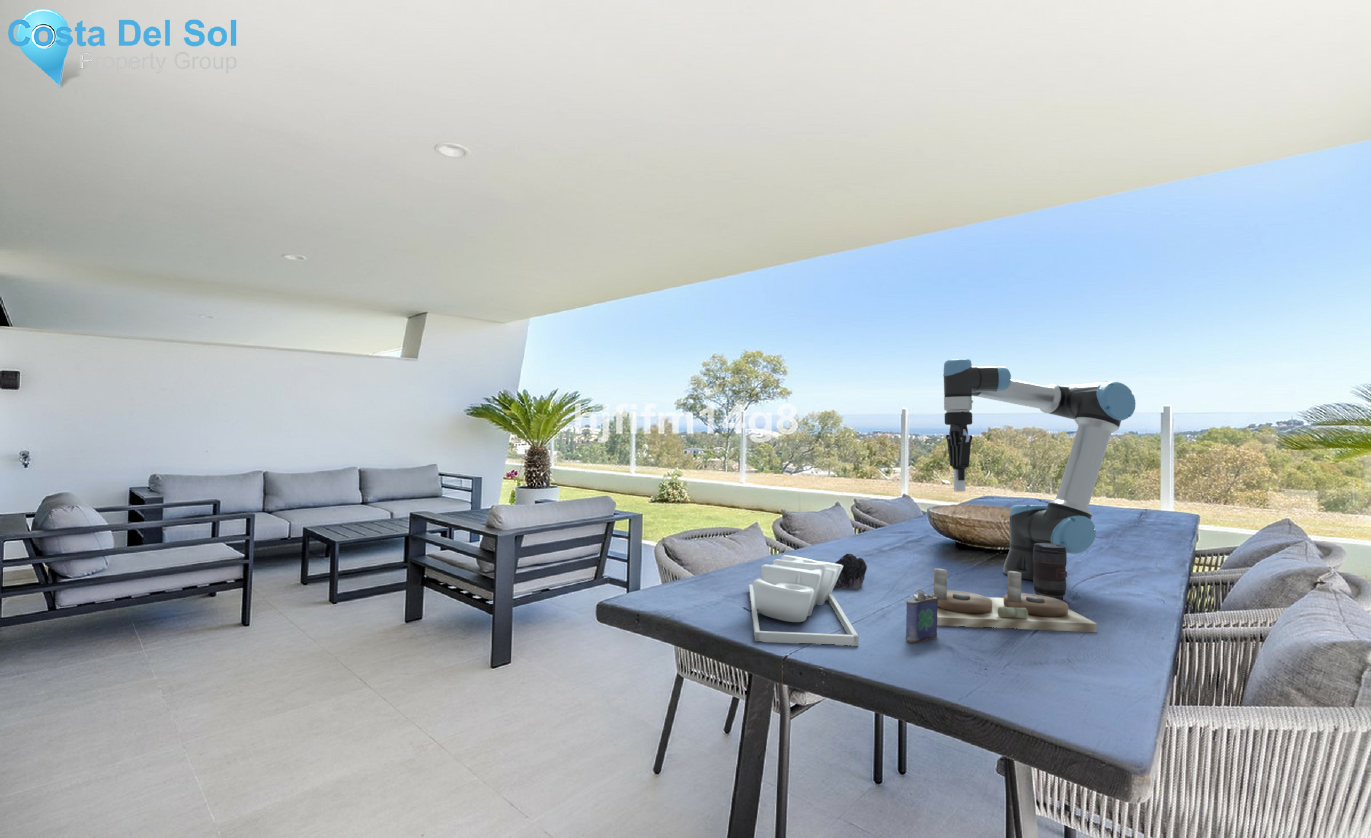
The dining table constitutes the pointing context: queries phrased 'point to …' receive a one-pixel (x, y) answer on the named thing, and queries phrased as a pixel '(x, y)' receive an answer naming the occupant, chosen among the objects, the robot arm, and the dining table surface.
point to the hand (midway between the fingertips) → (959, 491)
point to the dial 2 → (1032, 599)
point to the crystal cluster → (851, 572)
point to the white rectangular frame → (806, 637)
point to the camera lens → (1049, 570)
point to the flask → (921, 618)
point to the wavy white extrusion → (794, 587)
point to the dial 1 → (958, 597)
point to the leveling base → (1014, 619)
